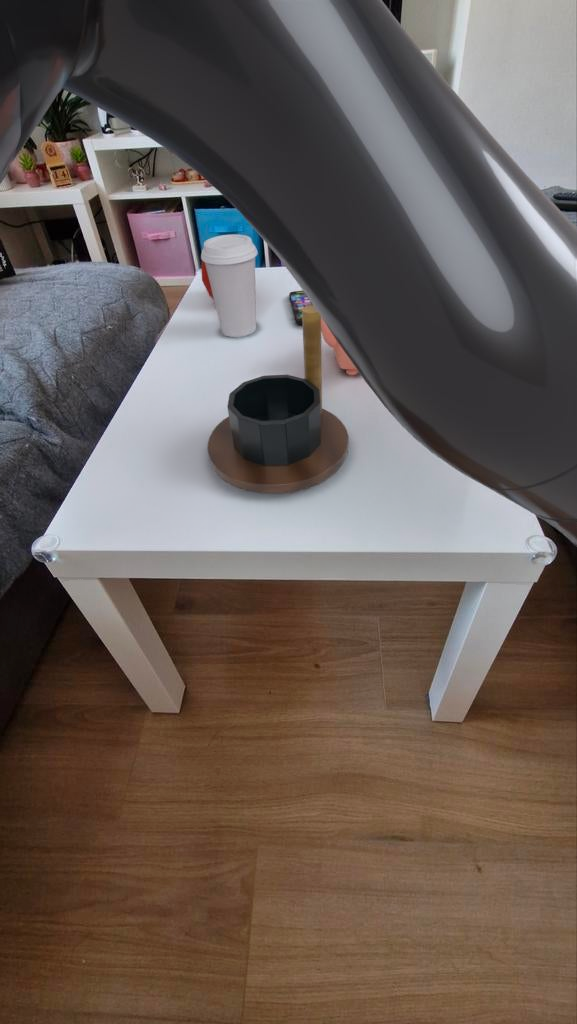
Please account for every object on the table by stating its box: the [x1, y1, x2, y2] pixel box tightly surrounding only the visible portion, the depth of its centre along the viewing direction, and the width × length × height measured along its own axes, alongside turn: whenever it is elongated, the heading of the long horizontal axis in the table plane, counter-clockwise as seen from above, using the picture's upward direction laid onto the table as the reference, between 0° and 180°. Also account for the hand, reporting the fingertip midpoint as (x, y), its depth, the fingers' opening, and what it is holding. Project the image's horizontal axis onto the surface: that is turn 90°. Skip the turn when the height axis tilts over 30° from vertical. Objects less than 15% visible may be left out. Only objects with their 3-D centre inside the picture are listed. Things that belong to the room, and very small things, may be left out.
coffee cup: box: [200, 234, 259, 338], centre depth 87 cm, size 10×10×15 cm
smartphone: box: [288, 290, 313, 327], centre depth 96 cm, size 8×1×15 cm
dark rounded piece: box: [207, 305, 349, 494], centre depth 59 cm, size 18×18×15 cm
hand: (364, 272), depth 44 cm, fingers closed
